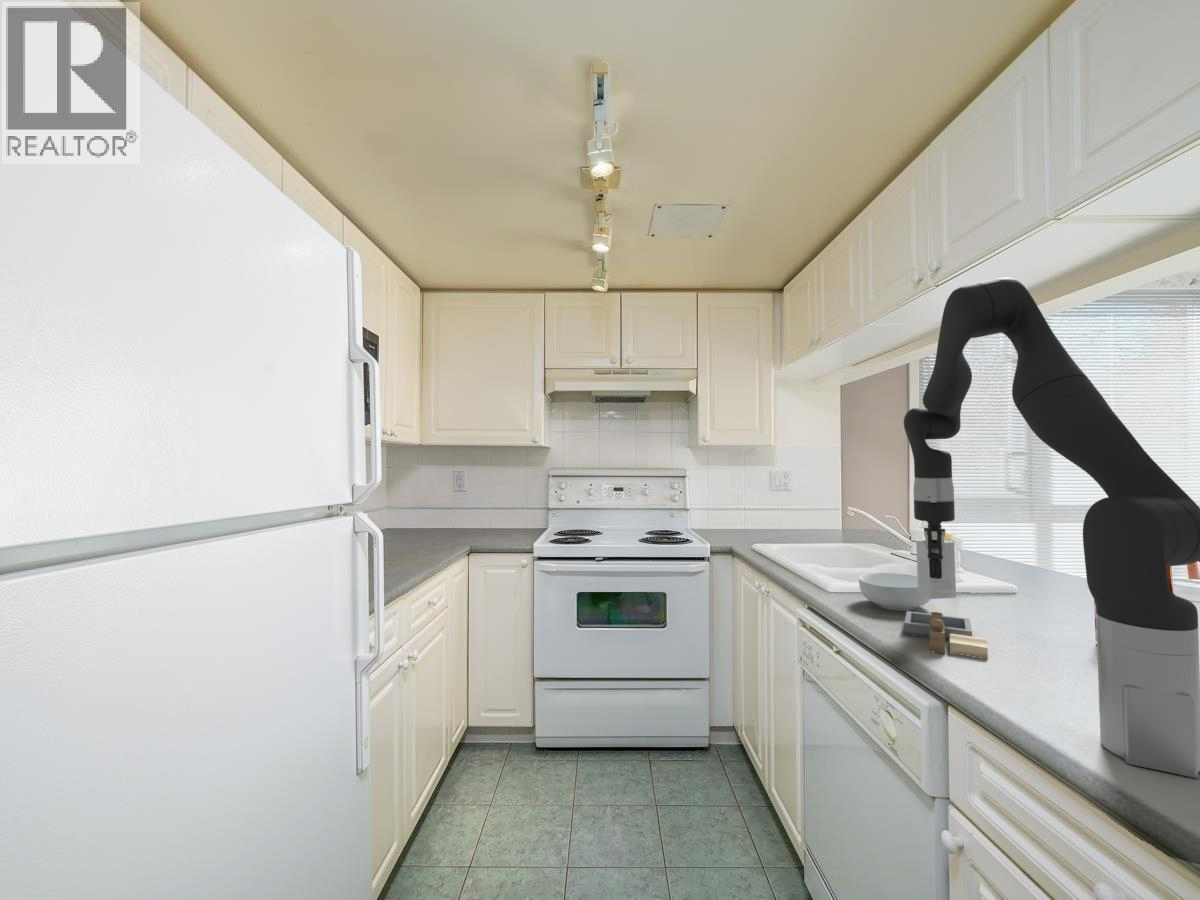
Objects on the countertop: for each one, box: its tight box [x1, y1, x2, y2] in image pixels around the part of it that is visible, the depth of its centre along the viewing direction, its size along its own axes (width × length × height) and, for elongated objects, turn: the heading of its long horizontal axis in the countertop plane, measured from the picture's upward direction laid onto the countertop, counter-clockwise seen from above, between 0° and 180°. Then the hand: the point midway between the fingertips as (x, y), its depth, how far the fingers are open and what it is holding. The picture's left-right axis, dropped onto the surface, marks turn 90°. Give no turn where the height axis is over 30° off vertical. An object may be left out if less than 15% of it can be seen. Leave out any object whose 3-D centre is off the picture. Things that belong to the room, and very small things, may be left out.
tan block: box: [949, 633, 989, 660], centre depth 105 cm, size 6×6×2 cm
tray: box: [904, 610, 973, 641], centre depth 117 cm, size 10×12×2 cm
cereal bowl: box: [858, 572, 932, 612], centre depth 137 cm, size 17×17×7 cm
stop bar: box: [929, 611, 946, 654], centre depth 108 cm, size 8×2×6 cm, turn 148°
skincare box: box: [915, 539, 957, 600], centre depth 117 cm, size 6×4×12 cm
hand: (935, 574), depth 117 cm, fingers closed on skincare box, 6 cm apart
